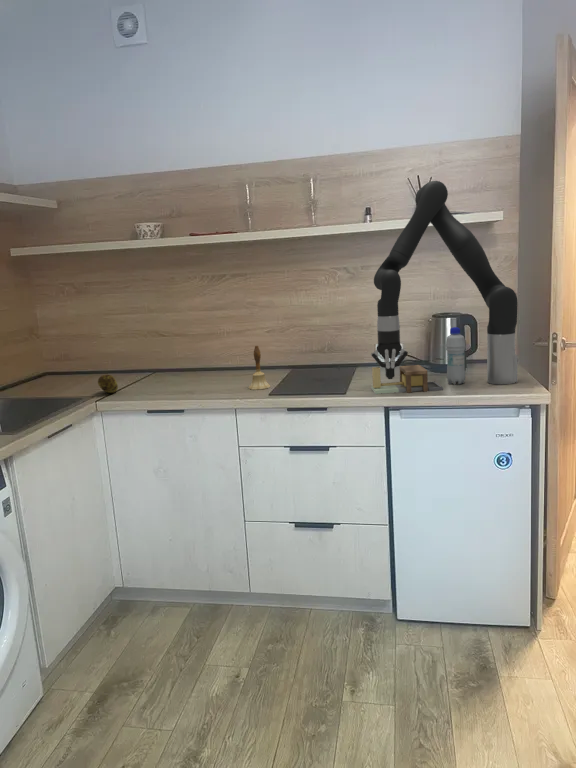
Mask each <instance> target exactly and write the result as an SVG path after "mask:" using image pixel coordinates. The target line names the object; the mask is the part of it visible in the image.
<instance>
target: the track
mask: <svg viewBox="0 0 576 768" xmlns="http://www.w3.org/2000/svg"><path fill="white" fill-rule="evenodd" d="M371 390H372V391H373V392H374V394H375V395H380V394H381V393H382V394H392V393H394V392H396V393H407V392H406V387H405V386H404V385H392V386H381V388H374V387H373V385H371ZM421 391H422V392H423V385H422V386H411V392H421Z"/></svg>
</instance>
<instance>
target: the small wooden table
mask: <svg viewBox="0 0 576 768" xmlns="http://www.w3.org/2000/svg"><path fill="white" fill-rule="evenodd" d="M402 374H406V392H405V393H406V394H411V393H412V391H411V375H414V374H422V379H423V391H422V392H423V393H425V392H426V393H427V391H428V382H429V381H428V379H429V378H428V370H427V369H426V368H425V367H423V366H422V365H420V364H414V365H413V364H412V365H399V382H402ZM428 392H429V391H428Z"/></svg>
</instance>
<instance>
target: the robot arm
mask: <svg viewBox="0 0 576 768" xmlns="http://www.w3.org/2000/svg"><path fill="white" fill-rule="evenodd" d="M448 192H449V191H448V188H447V186H446V185H445V183H443V182H442V181H440V180H432V181H429V182H427V183H425V184H424V185H422V186H421V187H420V188H419V189H418V191H417V192H416V194H415V197H414V198H415V199H414V200H415V204H416V207H415V210H414V212H413V214H412V216H411V217H410V219H409V221H408V223H407V224H406V226H405V227H404V229H402V231H401V233H400V234H399V236H398V238H397V239H396V241H394V242H395V243H394V244H393V246H392V248H391V249H390V252H389V254H388V256H387V257H386V258H385V260H384V261H383V262H382V263H381V264H380V266H379V267H378V269H377V270H376V272H375V273H374V277H373V285H374V287H375V288H376V289H377V290H379V291H381V293H380V294H381V295H380V298H379V299H378V300H377V307H376V308H377V309H376V310H377V324H376V326H377V327H376V329H377V346H376V350H375V351H373V352H371V353H370V355H371V357H372V358H373V360H374V361H375V362H376V363H377V364H378V365H379V366H380V367H381V368H384V369H385V378H387V380H393V379H394V378H395V369H396V368H397V367H400V366H401V364H402V363H403V361H404V360H405V359H406V357H407V356H408V354H409V351H407V350H405V349H403V348H402V345H401V334H400V333H401V331H400V330H401V325H400V316H399V298H400V296H401V295H400V294H401V290H402V289H401V288H402V279H401V276H400V274H399V272H400V271H401V269H403V268H404V269H405V267H406V266H407V265H408V264H409V261H410V260H411V259H412V256H413V255H414V253H415V251H416V249H417V247H418V245H419V243H420V241H421V240H422V237H423V235H424V234H425V232H426V230H427V229H428V227H429V226H430V224H431V225H432V226H433V228H434V229H435V230H436V231H437V234H438V235H439V236H440V238H441V240H442V241H443V243H444V244H445V246H446V247H447V248H448V250H449V252H450V253H451V254H452V257H454V259H455V260H456V262H457V263H458V264H459V266H460V268H461V269H462V270H463V271H464V272H465V273H466V274H467V276H468V277H469V278H470V279H471V280H472V282H473V284H475V286H476V288H477V289H478V291H479V293H480V294H481V297H482V299H483V301H484V302H485V304H486V307H487V308H488V315H489V316H488V324H487V326H486V329H487V330H486V331H487V332H486V333H487V336H486V341H487V342H486V345H487V348H486V352H487V353H486V355H487V358H486V359H487V361H486V362H487V364H486V365H487V366H486V367H487V369H486V370H487V371H486V372H487V373H486V374H487V376H486V377H487V381H486V382H487V383H488V384H491V385H511V384H515V382H516V383H518V355H517V354H516V329H517V326H518V325H517V324H518V305H519V304H518V296H517V293H516V292H515V290H513V288H511V287H509V286H506V285H505V284H504V283H503V282H502V281H501V280H500V279H499V277H498V276H497V275H496V273H495V272H494V270H493V269H492V268H493V267H491V263H490V261H489V259H488V256H487V254H486V252H485V250H484V248H483V247H482V245H481V244H480V242H479V241H478V239H477V237H476V236H475V235H474V234H473V233H472V232H471V230H470V229H469V228H467V226H466V225H464V224H463V223H461V222H460V221H459V220H458V219H457V218H456V217H454V215H453V214H452V213H451V211H450V210H449V208H448V207H447V205H446V202H447V200H448V195H449V193H448ZM398 355H399V357H398ZM379 356H381V357H382V358H383V361H384V362H383V361H382V360H381V359H380V358H379ZM397 357H398V358H397ZM396 358H397V359H396Z"/></svg>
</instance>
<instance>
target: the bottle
mask: <svg viewBox="0 0 576 768" xmlns="http://www.w3.org/2000/svg"><path fill="white" fill-rule="evenodd" d="M449 332H450V333H449V335H448V336H447V337H446V342H445V351H446V361H447V363H446V365H447V366H446V367H447V368H446V380H447V383H448V384H449V385H452V384H453V386H454V385H456V384H458V385H463V384H464V383H465V381H466V369H465V368H466V367H465V364H466V363H465V351H466V340H465V336H464V335H462V334H461V329H460V328H459V327H456V326H454V327H451V328H450V330H449Z"/></svg>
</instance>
